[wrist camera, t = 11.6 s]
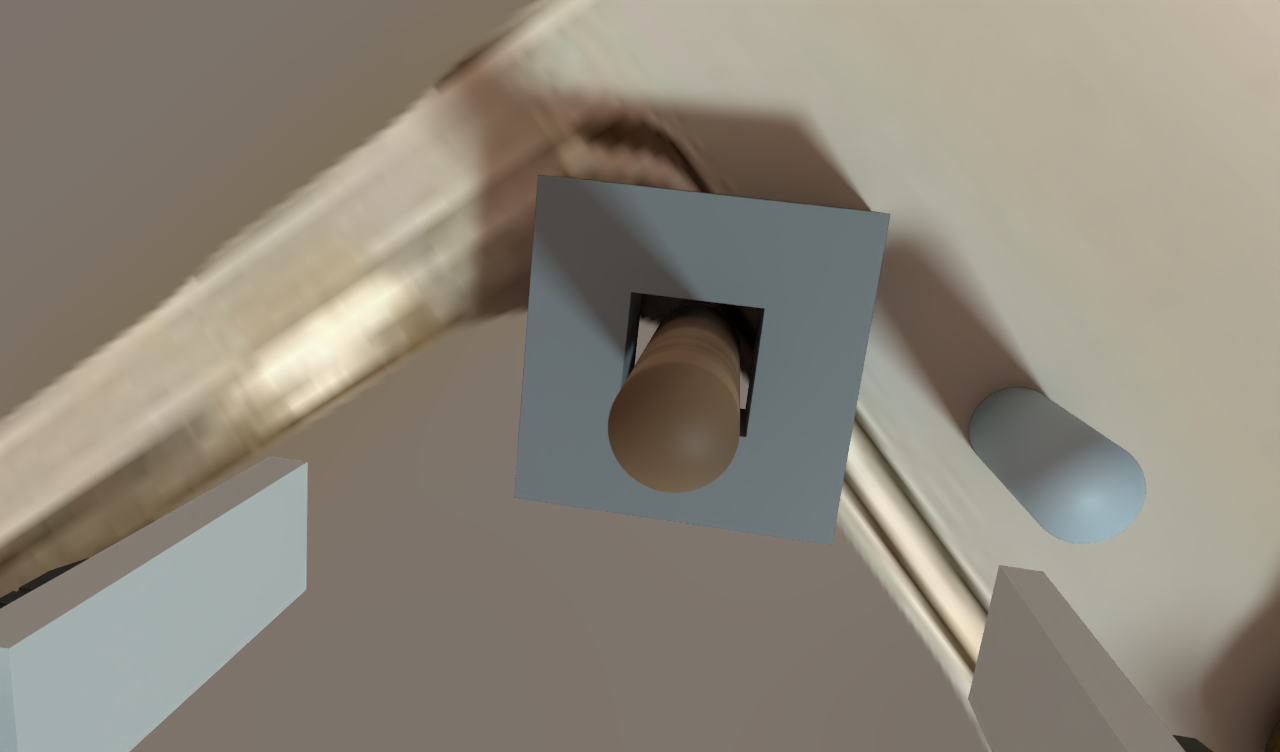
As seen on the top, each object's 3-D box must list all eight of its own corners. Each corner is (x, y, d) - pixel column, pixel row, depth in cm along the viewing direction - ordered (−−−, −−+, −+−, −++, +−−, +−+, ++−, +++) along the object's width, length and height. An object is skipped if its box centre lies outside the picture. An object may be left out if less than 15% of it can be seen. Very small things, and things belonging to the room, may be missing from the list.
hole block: (562, 176, 37) (538, 175, 33) (872, 211, 36) (890, 214, 31) (538, 464, 40) (514, 497, 36) (821, 505, 39) (831, 544, 35)
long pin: (659, 297, 38) (614, 357, 24) (745, 308, 37) (748, 375, 24) (650, 380, 39) (601, 482, 25) (733, 391, 38) (730, 501, 25)
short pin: (978, 381, 37) (1042, 432, 29) (1069, 393, 36) (1158, 448, 29) (961, 464, 38) (1018, 535, 30) (1049, 476, 37) (1130, 551, 30)
